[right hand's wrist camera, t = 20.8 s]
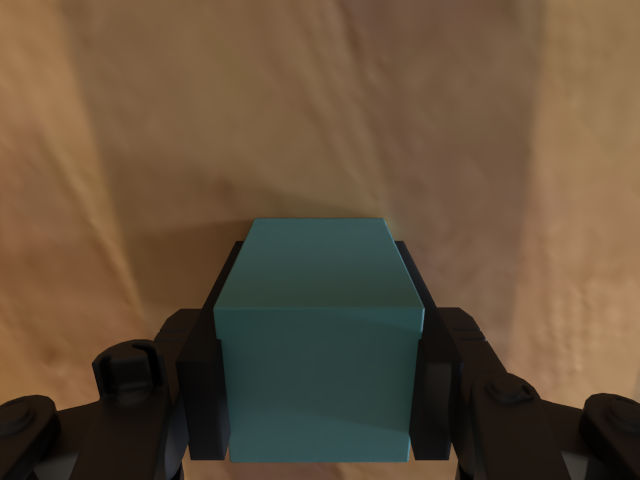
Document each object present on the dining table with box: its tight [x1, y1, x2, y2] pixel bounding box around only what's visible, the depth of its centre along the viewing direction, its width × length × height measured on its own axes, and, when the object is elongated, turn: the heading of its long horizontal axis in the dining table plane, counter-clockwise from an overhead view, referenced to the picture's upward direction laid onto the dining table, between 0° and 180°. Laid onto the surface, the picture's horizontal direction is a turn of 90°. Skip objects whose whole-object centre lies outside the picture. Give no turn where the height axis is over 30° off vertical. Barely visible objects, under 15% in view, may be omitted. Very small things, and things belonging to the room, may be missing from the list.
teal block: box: [213, 218, 425, 462], centre depth 12 cm, size 4×4×6 cm
